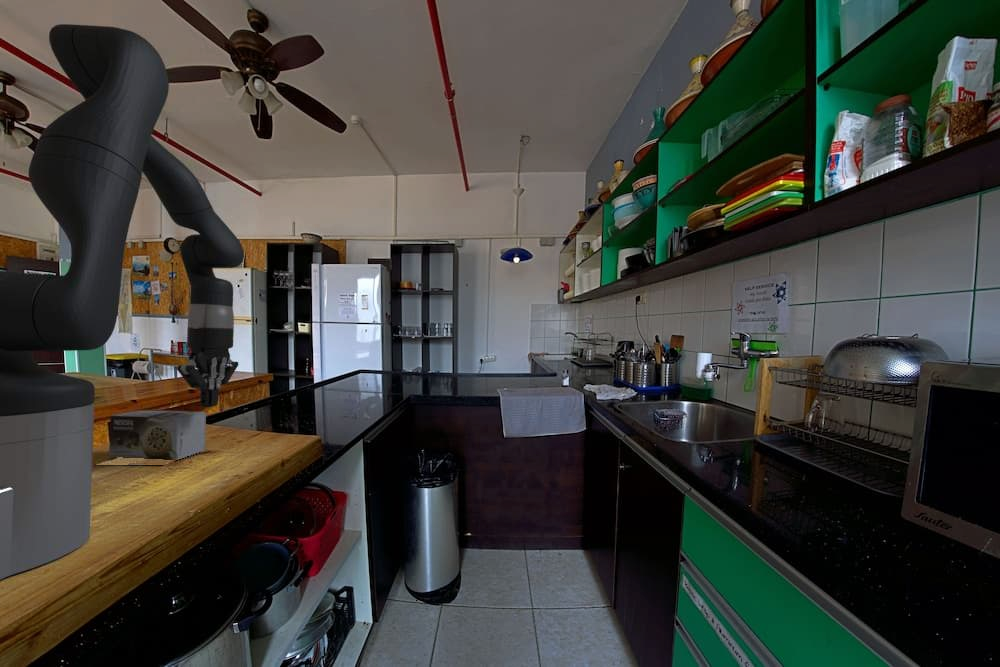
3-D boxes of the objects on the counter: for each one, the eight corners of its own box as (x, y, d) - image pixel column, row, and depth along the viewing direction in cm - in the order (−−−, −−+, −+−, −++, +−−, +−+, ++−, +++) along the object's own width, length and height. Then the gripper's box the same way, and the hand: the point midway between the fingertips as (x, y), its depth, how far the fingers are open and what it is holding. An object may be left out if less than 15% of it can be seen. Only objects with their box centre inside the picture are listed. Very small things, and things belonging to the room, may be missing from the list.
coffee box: (207, 410, 74) (144, 408, 76) (177, 417, 68) (108, 414, 69) (206, 451, 74) (143, 447, 76) (175, 461, 68) (107, 457, 69)
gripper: (220, 327, 78) (218, 401, 77) (162, 325, 64) (160, 413, 64) (251, 328, 78) (249, 401, 77) (201, 325, 64) (198, 413, 64)
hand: (209, 406), depth 71 cm, fingers closed
